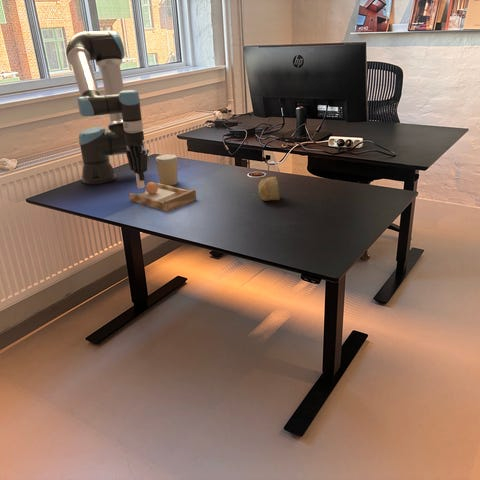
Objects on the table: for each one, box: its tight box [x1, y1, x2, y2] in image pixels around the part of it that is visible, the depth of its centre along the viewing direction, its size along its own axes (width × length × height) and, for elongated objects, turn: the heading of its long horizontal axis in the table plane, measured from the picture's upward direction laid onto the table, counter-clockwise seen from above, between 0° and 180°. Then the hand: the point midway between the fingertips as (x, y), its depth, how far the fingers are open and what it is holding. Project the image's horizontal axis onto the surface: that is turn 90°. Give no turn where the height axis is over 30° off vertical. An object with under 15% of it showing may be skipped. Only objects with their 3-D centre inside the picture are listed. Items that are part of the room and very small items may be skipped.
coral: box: [257, 176, 281, 202], centre depth 186 cm, size 10×10×10 cm
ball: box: [145, 181, 158, 194], centre depth 193 cm, size 5×5×5 cm
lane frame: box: [128, 182, 197, 213], centre depth 191 cm, size 22×16×4 cm
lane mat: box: [136, 187, 177, 202], centre depth 192 cm, size 20×14×2 cm
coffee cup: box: [155, 153, 178, 186], centre depth 209 cm, size 9×9×12 cm
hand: (141, 187), depth 197 cm, fingers closed
